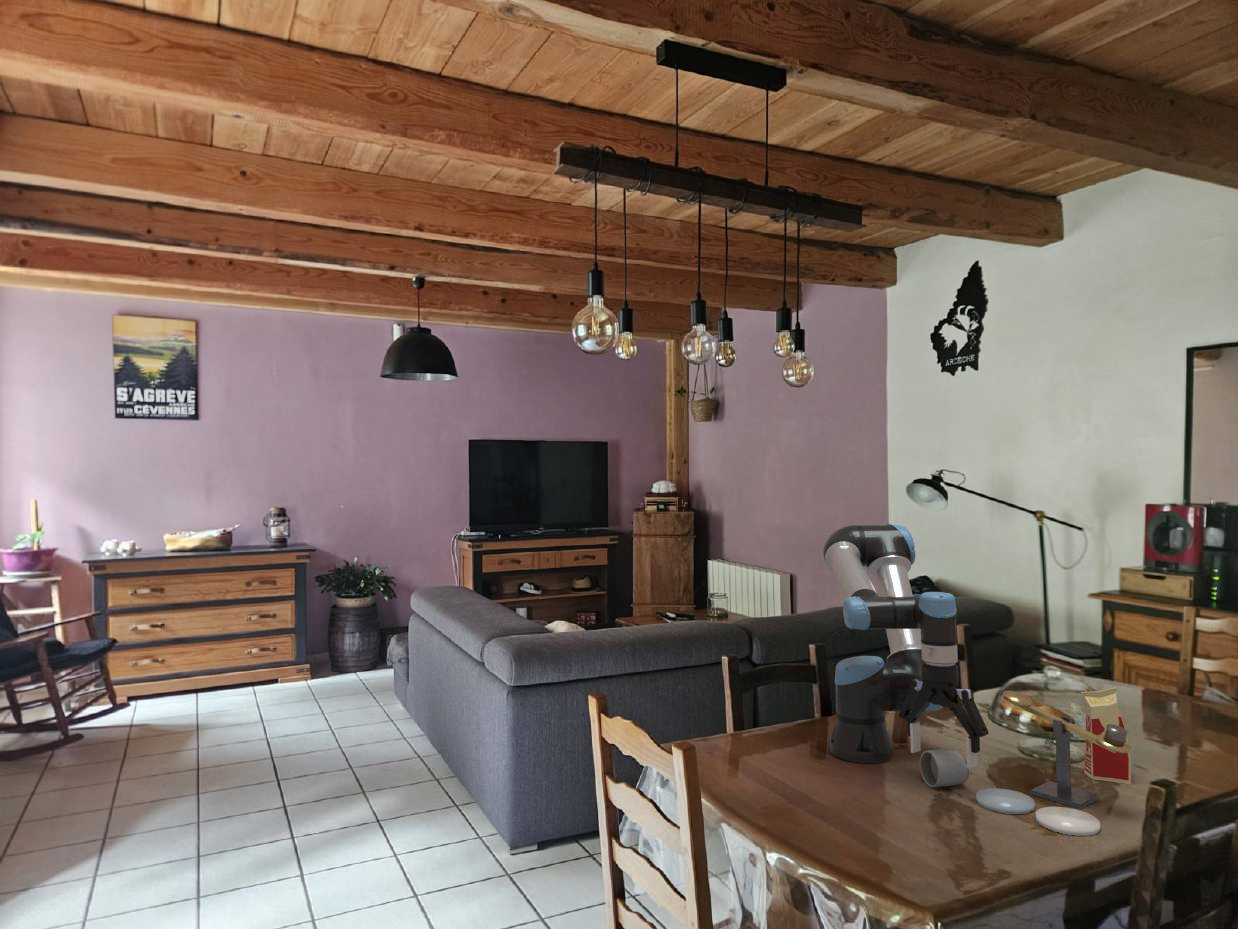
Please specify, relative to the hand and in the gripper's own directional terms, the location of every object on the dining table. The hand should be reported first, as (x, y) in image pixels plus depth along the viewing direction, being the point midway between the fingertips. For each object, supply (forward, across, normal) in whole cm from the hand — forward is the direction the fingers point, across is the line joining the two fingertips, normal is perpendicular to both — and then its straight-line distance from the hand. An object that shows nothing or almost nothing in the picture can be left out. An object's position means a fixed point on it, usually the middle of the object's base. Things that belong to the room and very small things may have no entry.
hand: (943, 759), depth 177 cm
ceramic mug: (+6, -2, +1) cm, 6 cm away
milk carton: (+6, +20, +33) cm, 39 cm away
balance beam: (-10, +20, +13) cm, 26 cm away
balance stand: (+6, +20, +13) cm, 24 cm away
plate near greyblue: (+6, +14, 0) cm, 15 cm away
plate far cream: (+6, +26, 0) cm, 27 cm away
